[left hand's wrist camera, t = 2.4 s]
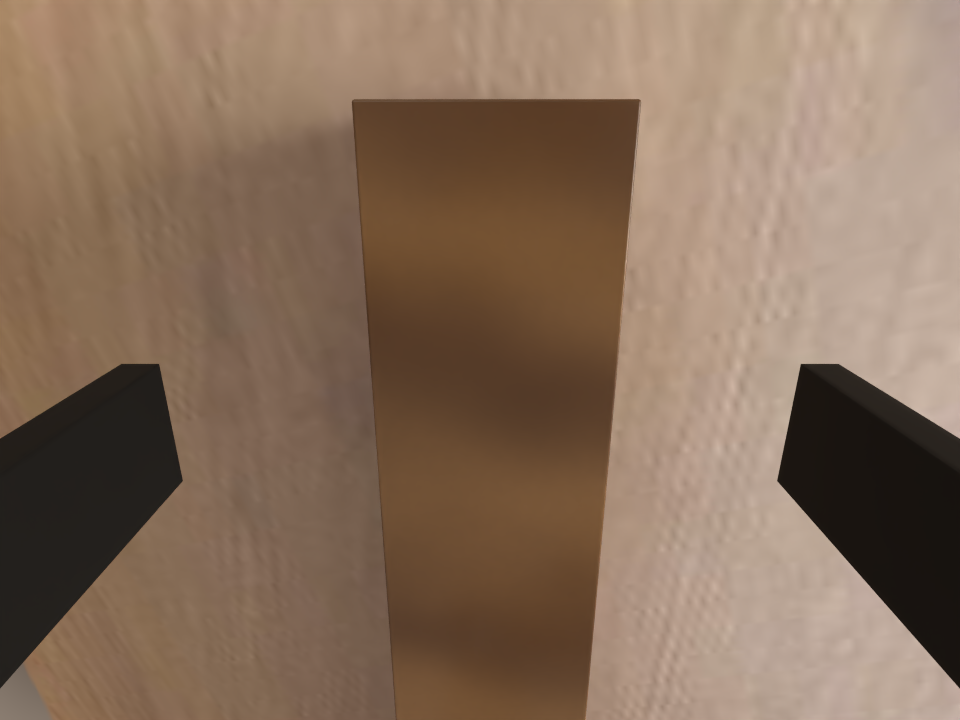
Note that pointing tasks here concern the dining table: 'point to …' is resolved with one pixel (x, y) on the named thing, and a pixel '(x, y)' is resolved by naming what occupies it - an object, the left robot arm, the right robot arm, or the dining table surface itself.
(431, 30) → the dining table surface
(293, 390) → the dining table surface
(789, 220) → the dining table surface
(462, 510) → the brown wooden beam
